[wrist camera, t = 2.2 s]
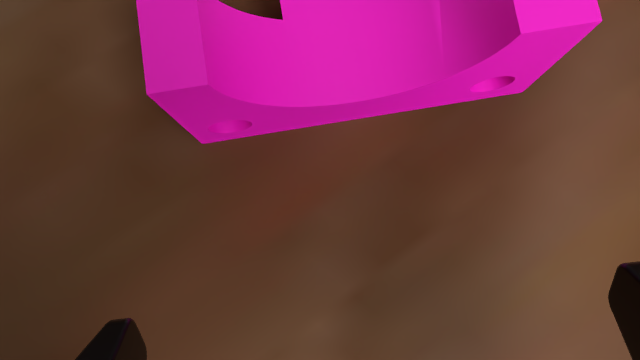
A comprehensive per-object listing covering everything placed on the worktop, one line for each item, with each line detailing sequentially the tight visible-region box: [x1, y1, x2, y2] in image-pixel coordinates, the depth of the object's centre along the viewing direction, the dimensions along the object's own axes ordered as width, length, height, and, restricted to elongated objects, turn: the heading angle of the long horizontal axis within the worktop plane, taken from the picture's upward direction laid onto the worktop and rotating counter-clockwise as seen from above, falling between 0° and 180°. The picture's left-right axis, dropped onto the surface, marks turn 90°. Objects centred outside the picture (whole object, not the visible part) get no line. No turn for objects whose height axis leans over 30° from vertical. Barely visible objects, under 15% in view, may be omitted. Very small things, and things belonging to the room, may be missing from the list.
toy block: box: [136, 0, 602, 144], centre depth 21 cm, size 15×6×8 cm, turn 99°
